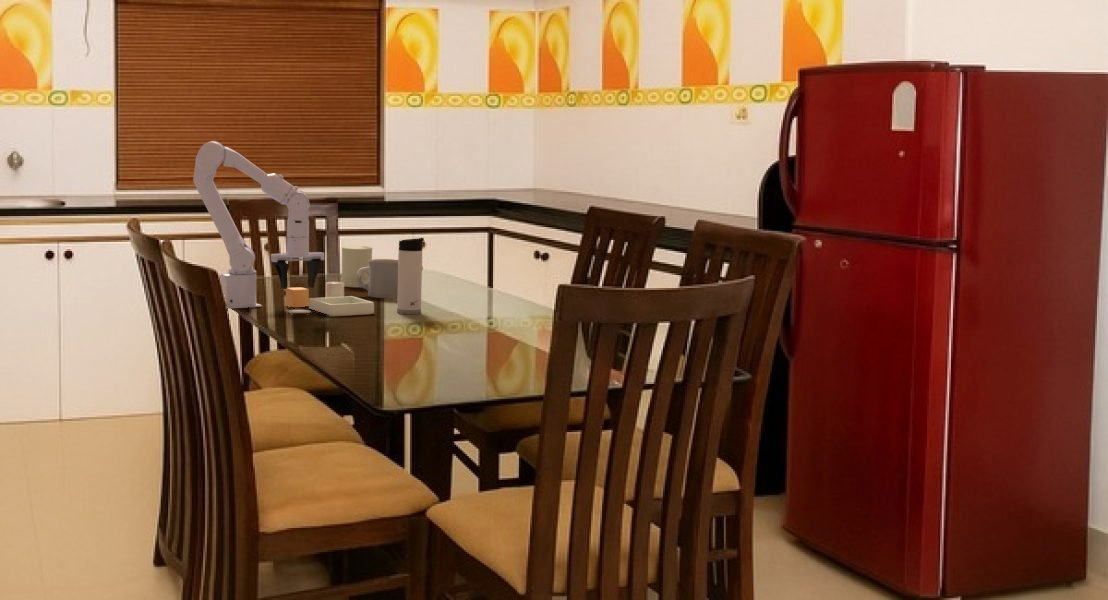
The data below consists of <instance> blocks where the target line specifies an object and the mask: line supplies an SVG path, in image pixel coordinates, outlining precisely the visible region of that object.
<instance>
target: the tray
mask: <svg viewBox="0 0 1108 600" xmlns="http://www.w3.org/2000/svg"><path fill="white" fill-rule="evenodd" d="M309 309H312V310H315V311H318V312H321V313H324V314H327V315H329V316H328V317H341V316H343V317H346V316H358V315H359V316H361V315H362V316H363V315H372V314H373V315H374V314H375V302H373V301H370V300H366V299H363V298H359V297H357V296H353V295H349V296H347V295H346V296H345V295H344V297H326V298H325V297H309V308H308V310H309ZM315 311H314V312H315ZM318 312H317V313H318ZM321 313H320V314H321ZM324 314H323V315H324ZM327 315H326V316H327Z"/></svg>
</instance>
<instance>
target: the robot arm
mask: <svg viewBox="0 0 1108 600" xmlns="http://www.w3.org/2000/svg"><path fill="white" fill-rule="evenodd" d="M222 163H223V167H229V168H235V169H237V170H238V171H240V172H242V174H244V175H247V177H249V178H251V179H252V180H254V181H256V182H257V183H259V184H260V185H261V191H262V192H263V193H264V194H266V195H268V197H270V198H272V199H273V200H275V201H276V202H278V203H279V204H280V205H284V206H286V207H287V211H288V213H287V214H288V217H287V220H286V224H287V225H286V232H287V233H286V252H282V253H281V252H280V253H271V254H270V262H272V265H273V266H274V268H275V270H276V272H277V275H278V277H279V282H280V286H281V289H284V290H286V289H287V288H288V285H289V284H288V277H289V276H288V275H289V268H290V264H289V263H287V262H295V261H296V262H297V261H299V262H300V261H301V262H302V261H303V262H304V261H305V263H306V268H307V287H308V288H311V289H313V288H314V287H315V282H316V278H317V277H318V274H319V271H320V269H321V268H322V266H323V261H325V252H321V251H318V252H317V251H316V252H315V251H314V252H310V219H309V216H310V213H309V210H310V206H311V204H310V200H309V196H308V195H307V193H305V192H304V191H302V190H298V189H299V186H297V185H295V186H294V185H293V184H291V183H289V181H287V180H285V179H284V176H283V175H282V174H280V173H279V174H276V173H275V172H274V173H266V172H265V171H264V170H262V169H261V168H260V167H258V166H257V165H255V164H254V163H253V162H251V161H250V160H248V159H247V158H246V157H245V156H243V155H242V154H240V153H239V152H237V151H235V150H234V149H232V148H230V147H228V146H224V145H223V144H222V143H220V142H218V141H216V140H211V141H207V142H206V143H204V144H203V145H201V147H200V149H199V150H198V152H197V155H196V156H195V163H194V164H195V165H194V172H193V179H192V181H193V184H194V186H195V188H196V190H197V192H198V194H199V196H200V198H201V200H202V202H203V204H204V206H205V208H206V209H207V212H208V213H209V216H210V218H211V220H212V222H213V224H214V226H215V227H216V230H217V232H218V233H219V235H220V237H221V239H222V242H223V243H224V247H225V249H226V252H227V253H228V256H229V265H230V269H228V271H227V272H228V273H221V274H220V275H219V277H220V279H221V284H222V288H223V291H224V295H225V299H226V303H227V308H226V309H230V310H231V309H247V308H248V307H249V308H262V307H263V305H262V304H260V303H257V270H256V269H254V265H255V261H256V255H255V251H253V249H252V248H251V247H250V246H248V245H247V244H246V242H245V240H244V238H243V237H242V235H241V234H240V232H239V230H238V227H237V225H236V224H235V222H234V219H233V218H232V216H231V214H230V211H229V210H228V208H227V205H226V204H225V202H224V200H223V198H222V196H221V194H220V191H219V190H218V188H217V186H216V184H215V182H214V179H215V176H216V174H217V169H218V168H219V167H220V165H222Z"/></svg>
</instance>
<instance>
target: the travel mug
mask: <svg viewBox="0 0 1108 600" xmlns="http://www.w3.org/2000/svg"><path fill="white" fill-rule="evenodd" d="M424 241H425V238H424V237H420V238H419V237H418V238H409V239H401V240H399V241H398V253H397V254H398V257H397V258H398V259H397V260H398V297H397V301H396V303H397V308H396V312H397V313H398V314H402V315H418V314H421V312H422V284H423V283H422V282H423V281H422V280H423V279H422V277H423V275H422V274H423V242H424Z"/></svg>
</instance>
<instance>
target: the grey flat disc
mask: <svg viewBox="0 0 1108 600" xmlns="http://www.w3.org/2000/svg"><path fill="white" fill-rule="evenodd" d="M288 312H289V313H310V312H311V313H312V311H311V310H309V309H291V310H287V313H288Z"/></svg>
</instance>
